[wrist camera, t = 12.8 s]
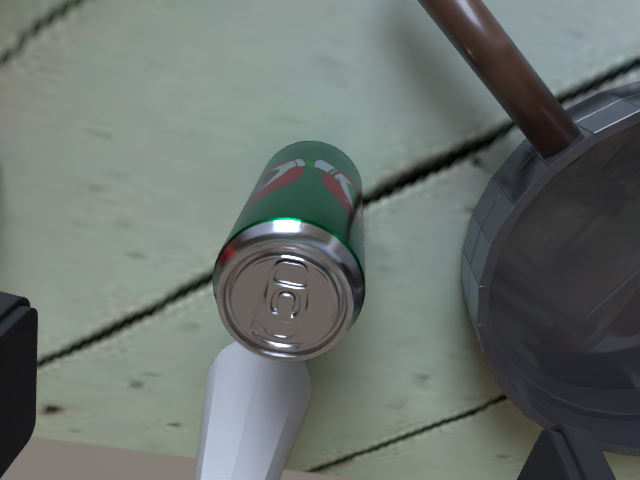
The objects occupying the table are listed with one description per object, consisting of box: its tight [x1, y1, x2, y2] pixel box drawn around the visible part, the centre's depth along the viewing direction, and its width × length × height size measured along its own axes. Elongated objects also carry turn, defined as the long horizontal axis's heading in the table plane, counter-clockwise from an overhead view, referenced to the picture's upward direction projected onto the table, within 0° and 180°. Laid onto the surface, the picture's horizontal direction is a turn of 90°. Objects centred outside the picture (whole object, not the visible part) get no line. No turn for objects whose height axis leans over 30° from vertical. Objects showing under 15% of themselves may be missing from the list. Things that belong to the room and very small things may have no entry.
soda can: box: [213, 141, 365, 362], centre depth 23 cm, size 5×5×12 cm
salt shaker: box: [194, 341, 312, 480], centre depth 27 cm, size 6×6×13 cm
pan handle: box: [418, 0, 583, 167], centre depth 23 cm, size 2×12×2 cm, turn 43°
